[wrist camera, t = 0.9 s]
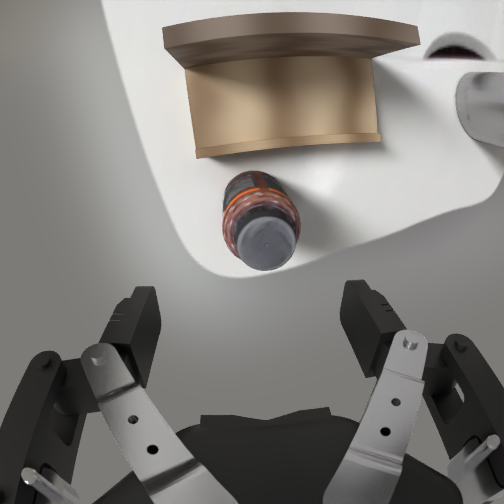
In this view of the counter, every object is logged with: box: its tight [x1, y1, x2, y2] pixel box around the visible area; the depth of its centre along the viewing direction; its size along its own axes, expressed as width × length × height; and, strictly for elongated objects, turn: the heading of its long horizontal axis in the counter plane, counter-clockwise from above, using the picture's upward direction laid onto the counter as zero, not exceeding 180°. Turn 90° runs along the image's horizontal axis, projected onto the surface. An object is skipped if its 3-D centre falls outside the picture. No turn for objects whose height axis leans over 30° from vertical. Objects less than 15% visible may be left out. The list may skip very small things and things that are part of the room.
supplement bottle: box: [222, 171, 301, 271], centre depth 25 cm, size 6×6×11 cm
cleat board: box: [162, 12, 421, 159], centre depth 21 cm, size 17×10×11 cm, turn 97°
